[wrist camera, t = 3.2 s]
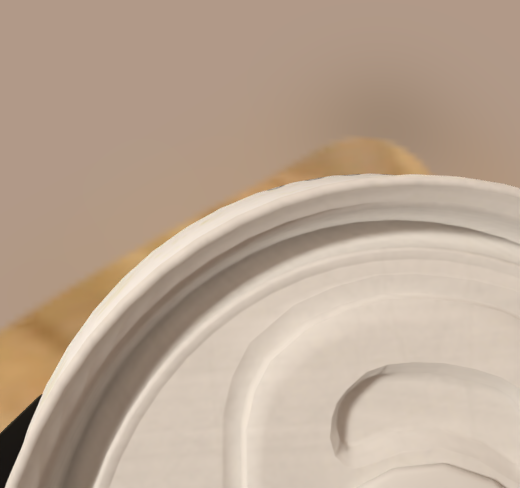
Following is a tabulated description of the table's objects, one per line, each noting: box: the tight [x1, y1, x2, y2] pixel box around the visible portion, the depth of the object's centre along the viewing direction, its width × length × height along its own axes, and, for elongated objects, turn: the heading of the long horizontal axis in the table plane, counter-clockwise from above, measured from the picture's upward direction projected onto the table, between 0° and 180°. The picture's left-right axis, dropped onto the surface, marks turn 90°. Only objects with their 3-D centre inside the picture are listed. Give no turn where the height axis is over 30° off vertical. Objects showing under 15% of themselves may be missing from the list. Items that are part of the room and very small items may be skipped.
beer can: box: [5, 174, 520, 488], centre depth 10 cm, size 6×6×15 cm
